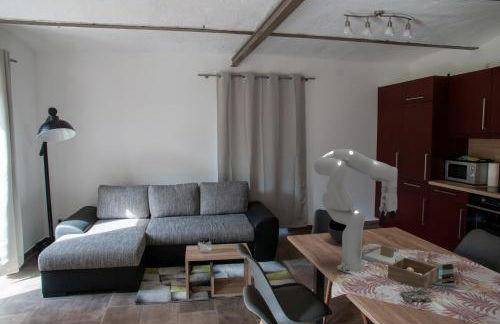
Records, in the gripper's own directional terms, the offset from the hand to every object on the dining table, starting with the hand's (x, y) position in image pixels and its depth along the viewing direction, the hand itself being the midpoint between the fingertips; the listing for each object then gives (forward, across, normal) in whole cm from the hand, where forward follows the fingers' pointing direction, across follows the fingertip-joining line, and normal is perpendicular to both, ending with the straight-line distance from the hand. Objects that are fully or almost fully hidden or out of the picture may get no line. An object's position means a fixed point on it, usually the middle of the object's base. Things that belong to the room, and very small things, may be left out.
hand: (387, 220), depth 180 cm
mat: (+21, +1, 0) cm, 21 cm away
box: (+21, -17, -22) cm, 35 cm away
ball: (+20, -14, -19) cm, 31 cm away
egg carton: (+22, -35, -31) cm, 52 cm away
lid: (+20, 0, 0) cm, 20 cm away
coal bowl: (+21, +5, +30) cm, 37 cm away
